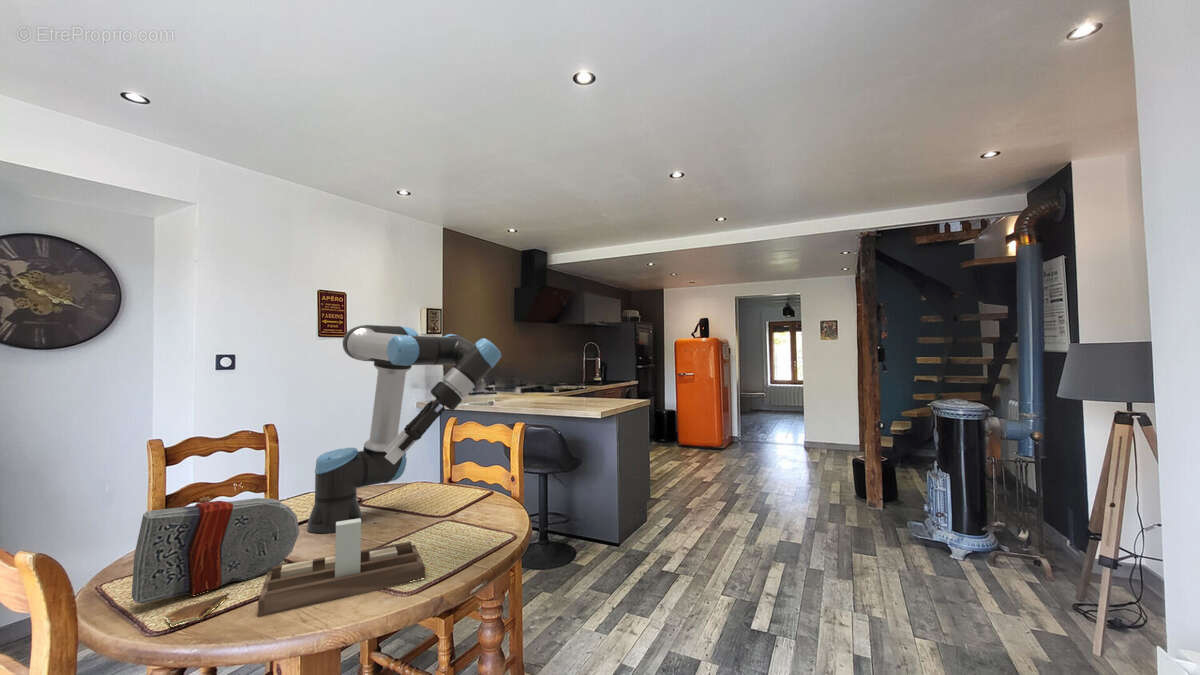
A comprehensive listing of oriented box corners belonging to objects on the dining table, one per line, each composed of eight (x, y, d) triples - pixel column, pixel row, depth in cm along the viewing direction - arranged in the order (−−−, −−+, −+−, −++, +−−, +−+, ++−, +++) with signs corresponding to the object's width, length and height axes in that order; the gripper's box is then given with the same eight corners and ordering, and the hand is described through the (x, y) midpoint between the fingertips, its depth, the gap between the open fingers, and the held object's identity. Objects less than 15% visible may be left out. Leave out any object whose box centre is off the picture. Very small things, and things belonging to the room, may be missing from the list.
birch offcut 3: (369, 570, 116) (369, 551, 117) (395, 564, 119) (395, 546, 120) (370, 576, 113) (370, 557, 113) (397, 570, 116) (397, 552, 116)
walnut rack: (267, 585, 109) (267, 567, 109) (414, 556, 124) (414, 540, 125) (257, 616, 95) (258, 596, 95) (424, 579, 111) (424, 562, 111)
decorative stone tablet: (147, 514, 97) (305, 494, 121) (140, 508, 101) (295, 490, 125) (131, 613, 95) (296, 574, 119) (125, 604, 99) (286, 567, 122)
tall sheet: (334, 589, 106) (335, 521, 107) (359, 584, 109) (360, 518, 110) (334, 595, 104) (336, 525, 104) (360, 589, 106) (361, 521, 107)
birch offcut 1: (281, 587, 108) (282, 565, 108) (312, 581, 111) (312, 559, 111) (279, 595, 104) (280, 571, 104) (311, 588, 107) (312, 566, 107)
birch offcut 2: (324, 579, 112) (325, 557, 112) (357, 572, 115) (358, 551, 116) (324, 586, 108) (324, 563, 109) (358, 578, 112) (358, 557, 112)
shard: (229, 599, 103) (229, 591, 103) (241, 610, 99) (241, 601, 99) (162, 621, 95) (163, 611, 95) (172, 634, 90) (172, 624, 90)
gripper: (471, 400, 109) (403, 475, 102) (455, 399, 132) (398, 460, 124) (447, 378, 108) (375, 453, 100) (435, 381, 130) (376, 442, 122)
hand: (388, 457), depth 112 cm, fingers open, 13 cm apart
